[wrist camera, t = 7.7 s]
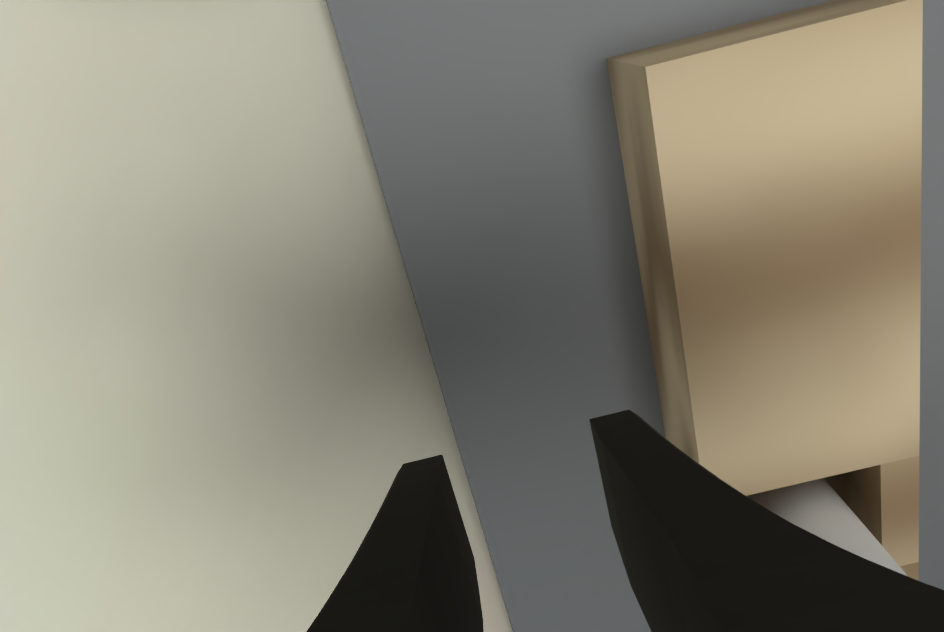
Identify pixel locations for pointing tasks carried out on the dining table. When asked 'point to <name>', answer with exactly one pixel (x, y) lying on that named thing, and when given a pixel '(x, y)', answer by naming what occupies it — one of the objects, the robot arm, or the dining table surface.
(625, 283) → the slate board
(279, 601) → the dining table surface
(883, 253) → the oak link
